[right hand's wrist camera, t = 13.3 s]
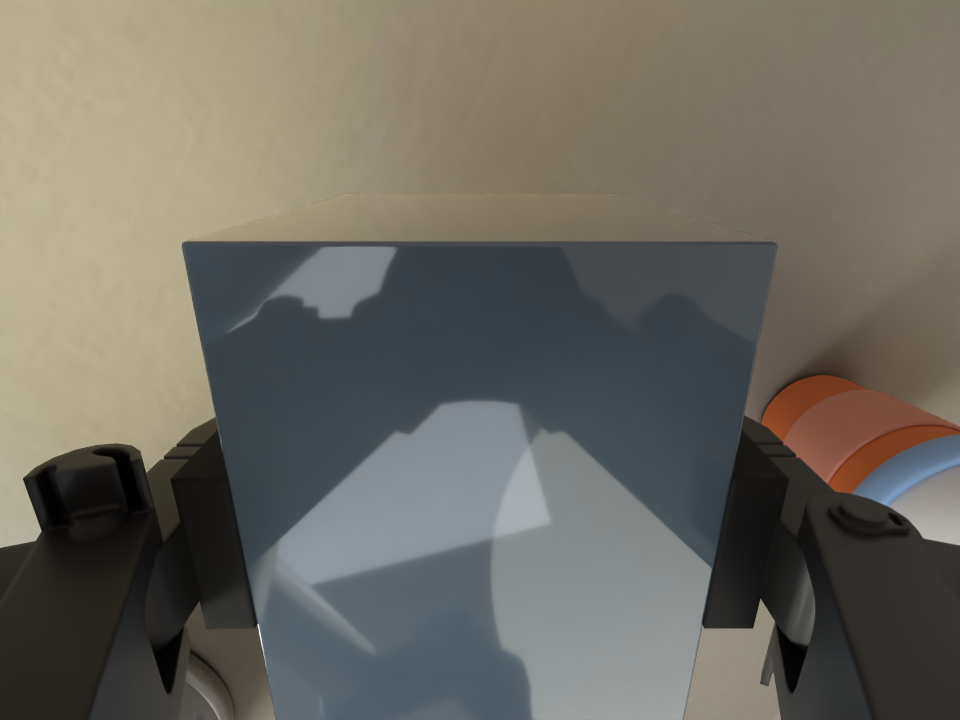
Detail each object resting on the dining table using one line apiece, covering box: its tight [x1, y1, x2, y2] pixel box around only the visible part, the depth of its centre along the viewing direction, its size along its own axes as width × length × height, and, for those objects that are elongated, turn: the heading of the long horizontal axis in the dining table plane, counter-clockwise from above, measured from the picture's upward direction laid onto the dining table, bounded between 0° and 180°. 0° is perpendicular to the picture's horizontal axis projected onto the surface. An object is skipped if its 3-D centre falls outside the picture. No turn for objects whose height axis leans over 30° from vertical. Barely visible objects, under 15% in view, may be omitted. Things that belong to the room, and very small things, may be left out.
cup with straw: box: [761, 375, 960, 545], centre depth 24 cm, size 9×9×18 cm
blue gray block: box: [182, 193, 778, 720], centre depth 12 cm, size 7×9×8 cm
